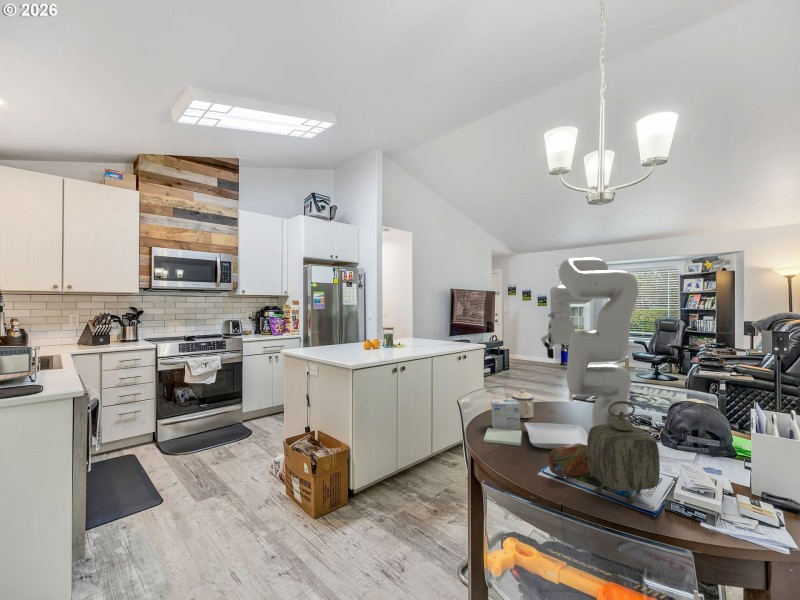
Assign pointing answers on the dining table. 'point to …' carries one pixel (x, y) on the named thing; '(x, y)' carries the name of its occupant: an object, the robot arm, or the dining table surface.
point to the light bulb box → (505, 414)
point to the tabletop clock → (623, 455)
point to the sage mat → (503, 436)
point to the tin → (569, 460)
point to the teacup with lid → (524, 403)
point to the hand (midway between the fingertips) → (561, 357)
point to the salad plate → (555, 435)
